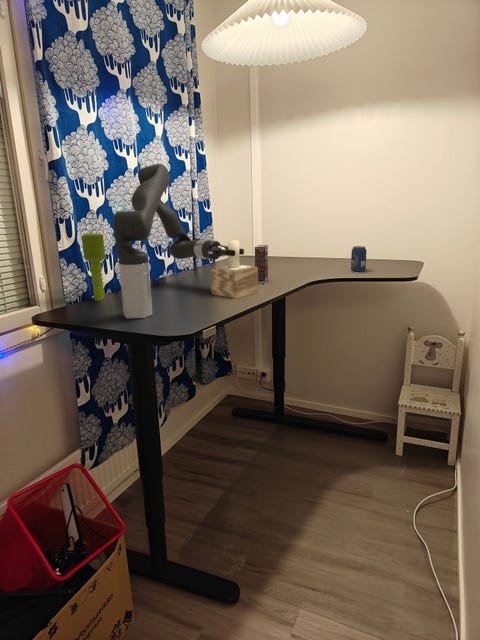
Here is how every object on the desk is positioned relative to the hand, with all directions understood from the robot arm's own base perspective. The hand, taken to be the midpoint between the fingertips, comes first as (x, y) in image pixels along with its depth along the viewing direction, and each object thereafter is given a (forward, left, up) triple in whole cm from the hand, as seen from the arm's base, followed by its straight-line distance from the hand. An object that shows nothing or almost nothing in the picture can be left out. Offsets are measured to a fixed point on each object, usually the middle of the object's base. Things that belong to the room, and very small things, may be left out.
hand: (238, 252), depth 170 cm
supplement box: (+24, -10, -16) cm, 31 cm away
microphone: (-2, +54, -16) cm, 56 cm away
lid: (+2, +2, -7) cm, 8 cm away
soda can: (+43, -58, -16) cm, 74 cm away
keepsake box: (+2, +2, -16) cm, 16 cm away
